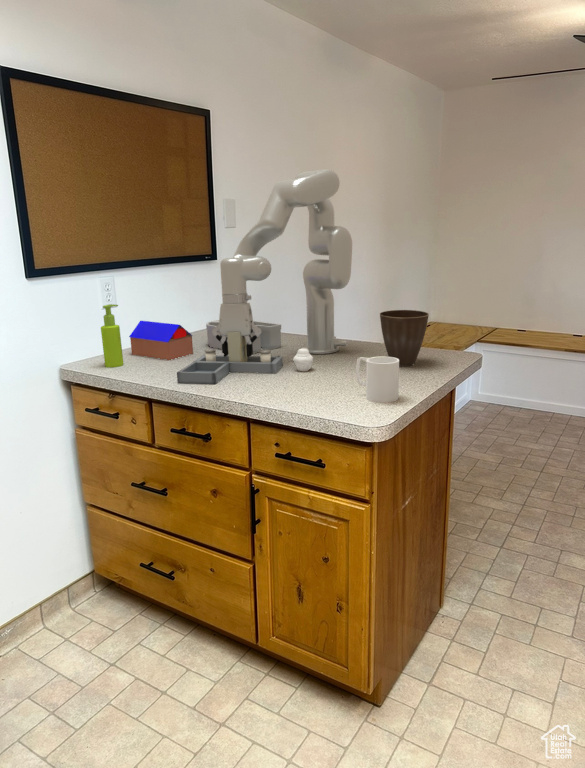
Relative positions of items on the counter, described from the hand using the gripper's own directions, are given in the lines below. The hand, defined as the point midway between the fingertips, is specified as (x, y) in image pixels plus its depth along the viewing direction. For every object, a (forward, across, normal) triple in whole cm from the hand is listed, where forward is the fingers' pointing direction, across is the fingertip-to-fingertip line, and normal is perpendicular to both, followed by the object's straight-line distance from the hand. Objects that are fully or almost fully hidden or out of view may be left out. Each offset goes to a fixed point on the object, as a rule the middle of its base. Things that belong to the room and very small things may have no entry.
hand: (237, 355), depth 185 cm
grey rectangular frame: (+4, 0, 0) cm, 4 cm away
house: (+5, +34, -18) cm, 38 cm away
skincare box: (+4, 0, 0) cm, 4 cm away
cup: (+5, -45, +26) cm, 52 cm away
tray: (+4, +7, +12) cm, 15 cm away
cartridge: (+4, -9, 0) cm, 10 cm away
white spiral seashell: (+4, -21, 0) cm, 21 cm away
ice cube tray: (+5, +9, -33) cm, 35 cm away
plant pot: (+4, -51, -11) cm, 52 cm away
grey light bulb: (+4, +9, 0) cm, 10 cm away
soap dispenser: (+4, +43, -1) cm, 43 cm away
